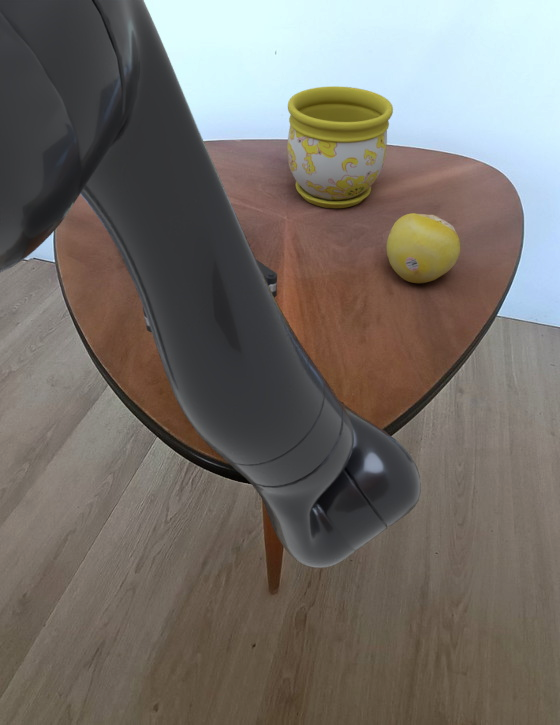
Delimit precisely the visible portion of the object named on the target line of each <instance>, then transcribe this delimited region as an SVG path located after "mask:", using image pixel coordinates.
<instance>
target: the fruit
mask: <svg viewBox="0 0 560 725" xmlns="http://www.w3.org/2000/svg"><path fill="white" fill-rule="evenodd" d="M460 253H461V242H460V238H459V236H458V234H457V232H456V229H455V227H454V226H453V225H452V224H451V223H449V222H447V221H446V220H445V219H442V218H440V217H439V216H437V215H434V214H424V213H415V212H412V213H411V212H410V213H407V214H405V215H402V216H401V217H399V218H398V219H397V220H396V221H395V222H394V224H393V225H392V227H391V229H390V231H389V234H388V237H387V241H386V255H387V259H388V261H389V264H390V266H391V269H393V271H394V272H395V273H396V274H397V275H398V276H399V277H400V278H401V279H402V280H404V281H407V282H409V283H412V284H425V283H429V282H432V281H435V280H437V279H439V278H441V277H442V276H444V275H445V274H446V273H448V272H450V270H451V269H452V268H453V267H454V266H455V264H456V263H457V261H458V259H459V256H460Z"/></svg>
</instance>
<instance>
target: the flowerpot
mask: <svg viewBox="0 0 560 725" xmlns="http://www.w3.org/2000/svg"><path fill="white" fill-rule="evenodd" d="M287 111H288V113H289V118H288V122H289V129H288V135H287V148H286V150H287V151H286V152H287V162H288V166H289V169H290V172H291V174H292V176H293V177H294V180H295V189H296V191H297V192H298V194H300V195H301V197H302V198H303V199H304V200H305V201H307V203H309V204H312V205H314V206H317V207H321V208H326V209H346V208H351V207H353V206H355V205H358V204H360V203H361V202H362V201H364V199H366V198H367V197H368V196H369V195H370V194H371V192H372V185H373V184H374V183H375V181H376V180H377V179H378V177H379V176H380V173H381V172H382V169H383V167H384V163H385V160H386V154H387V147H388V129H389V126H390V122H389V120H390V119H391V118H392V116H393V113H394V107H393V105H392V102H391V101H390V100H389V99H388V98H386V97H385V96H383V95H381V94H379V93H376V92H373V91H371V90H368V89H364V88H363V89H362V88H358V87H351V86H350V87H349V86H338V85H337V86H319V87H312V88H308V89H305V90H301V91H299V92H297V93H294V95H292V96H291V97H290V98H289V100H288V102H287Z"/></svg>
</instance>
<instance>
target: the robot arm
mask: <svg viewBox="0 0 560 725" xmlns="http://www.w3.org/2000/svg"><path fill="white" fill-rule="evenodd" d="M196 122H197V121H196V120H195V117H194V114H193V112H192V110H191V108H190V105H189V103H188V101H187V98H186V96H185V93H184V90H183V88H182V86H181V84H180V81H179V78H178V77H177V73H176V72H175V69H174V66H173V64H172V62H171V59H170V57H169V55H168V53H167V50H166V47H165V44H164V43H163V41H162V38H161V36H160V33H159V31H158V29H157V26H156V24H155V22H154V19H153V17H152V14H151V13H150V11H149V8H148V6H147V4H146V2H145V0H0V273H3V272H5V271H7V270H10V269H11V268H13V267H15V266H16V265H17V264H19V263H21V262H22V261H24V260H26V258H28V257H29V256H30V255H31V254H33V253H34V252H35V251H36V250H37V249H38V248H39V247H40V246H41V245H42V244H43V243H44V242H46V240H47V239H48V238H49V237H50V236H51V235H52V234H54V232H55V231H56V230H57V228H58V227H59V226H60V225H61V224H62V222H63V220H64V219H65V218H66V217H67V215H68V213H69V212H70V211H71V209H72V207H73V206H74V204H75V203H76V201H77V200H78V198H79V196H81V197H82V198H83V199H84V200H85V201H86V203H87V204H88V206H89V207H90V208H91V210H92V211H93V212H94V214H95V215H96V217H97V218H98V219H99V221H100V222H101V224H102V225H103V227H104V228H105V230H106V232H107V233H108V235H109V237H110V238H111V241H112V243H113V244H114V245H115V247H116V248H117V251H118V252H119V255H120V257H121V259H122V261H123V263H124V266H125V268H126V270H127V271H128V274H129V275H130V278H131V279H132V283H133V285H134V287H135V290H136V292H137V294H138V297H139V300H140V302H141V304H142V311H143V317H144V322H145V327H146V330H147V332H149V333H151V335H152V338H153V340H154V344H155V348H156V349H157V354H158V356H159V359H160V362H161V365H162V367H163V370H164V373H165V375H166V378H167V381H168V383H169V385H170V388H171V390H172V393H173V396H174V398H175V399H176V402H177V403H178V405H179V407H180V409H181V411H182V413H183V414H184V417H185V418H186V419H187V421H188V422H189V424H190V425H191V426H192V427H193V429H194V431H195V432H196V434H197V435H198V436H199V437H200V438H201V439H202V440H203V441H204V442H205V444H206V445H207V446H209V448H211V449H212V450H213V451H214V452H215V453H216V454H217V455H218V456H220V457H221V458H222V459H223V460H224V461H225V462H227V464H229V465H230V466H231V467H232V468H233V469H234V470H236V472H238V473H239V474H240V475H241V476H242V477H243V478H245V479H246V480H247V481H248V482H249V483H250V484H251V485H252V488H254V490H256V492H257V493H258V495H259V496H260V498H261V500H262V502H263V505H264V507H265V511H266V513H267V517H268V519H269V521H270V524H271V527H272V528H273V531H274V532H275V535H276V537H277V539H278V540H279V542H280V543H281V545H282V547H283V548H284V549H285V551H286V552H287V553H288V554H289V555H290V556H291V558H292V559H294V560H295V561H296V562H298V563H300V564H301V565H303V566H305V567H309V568H312V569H314V568H315V569H325V568H330V567H333V566H336V565H337V564H340V563H341V562H343V561H344V560H346V559H347V558H348V557H350V556H351V555H353V554H354V553H356V552H357V551H358V550H359V549H361V548H362V547H364V546H365V545H367V544H368V543H369V542H371V541H372V540H373V539H375V538H376V537H378V536H379V535H380V534H381V533H383V532H385V531H386V530H387V529H388V527H392V526H393V525H395V524H396V523H398V522H399V521H400V520H401V519H402V518H404V517H405V516H406V515H408V514H409V513H410V512H411V511H412V510H413V509H414V508H415V507H416V506H417V504H418V502H419V500H420V497H421V492H422V483H421V475H420V471H419V468H418V466H417V464H416V462H415V460H414V459H413V457H412V456H411V454H410V453H409V452H408V450H407V449H406V448H405V446H404V445H402V443H400V442H399V441H398V440H397V439H395V437H393V436H392V435H391V434H389V433H388V432H387V431H385V430H384V429H382V428H381V427H379V426H378V425H376V424H374V423H373V422H372V421H370V420H369V419H367V418H365V417H364V416H362V415H360V414H359V413H357V412H356V411H355V410H353V409H352V408H350V407H349V406H348V405H346V404H344V402H342V401H341V400H340V399H339V397H338V396H337V395H336V393H335V391H334V390H333V389H332V387H331V386H330V384H329V383H328V381H327V380H326V378H325V377H324V375H323V374H322V372H321V370H320V369H319V368H318V366H317V365H316V364H315V362H314V361H313V360H312V358H311V357H310V355H309V354H308V352H307V351H306V349H305V348H304V345H303V344H302V343H301V341H300V340H299V338H298V337H297V335H296V333H295V331H294V330H293V328H292V327H291V325H290V323H289V321H288V319H287V318H286V316H285V314H284V313H283V311H282V309H281V308H280V306H279V303H278V301H277V299H276V297H277V295H278V273H277V272H275V271H274V270H273V269H272V268H270V267H268V266H267V265H266V264H264V263H263V262H261V261H259V260H258V259H257V258H256V255H255V254H254V252H253V250H252V247H251V245H250V243H249V240H248V239H247V236H246V234H245V232H244V230H243V227H242V225H241V222H240V220H239V218H238V216H237V214H236V211H235V209H234V206H233V205H232V203H231V200H230V198H229V195H228V193H227V191H226V189H225V187H224V184H223V182H222V179H221V177H220V175H219V173H218V170H217V168H216V166H215V164H214V161H213V159H212V157H211V154H210V152H209V150H208V148H207V146H206V144H205V141H204V139H203V137H202V134H201V132H200V129H199V127H198V125H197V123H196Z"/></svg>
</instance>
